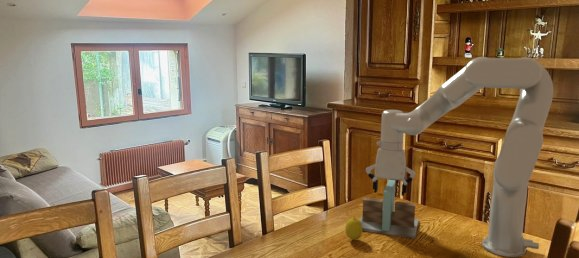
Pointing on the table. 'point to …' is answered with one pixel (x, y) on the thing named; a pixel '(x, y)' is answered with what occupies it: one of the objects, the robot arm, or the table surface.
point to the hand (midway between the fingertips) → (389, 193)
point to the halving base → (392, 229)
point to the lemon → (353, 228)
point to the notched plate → (388, 204)
